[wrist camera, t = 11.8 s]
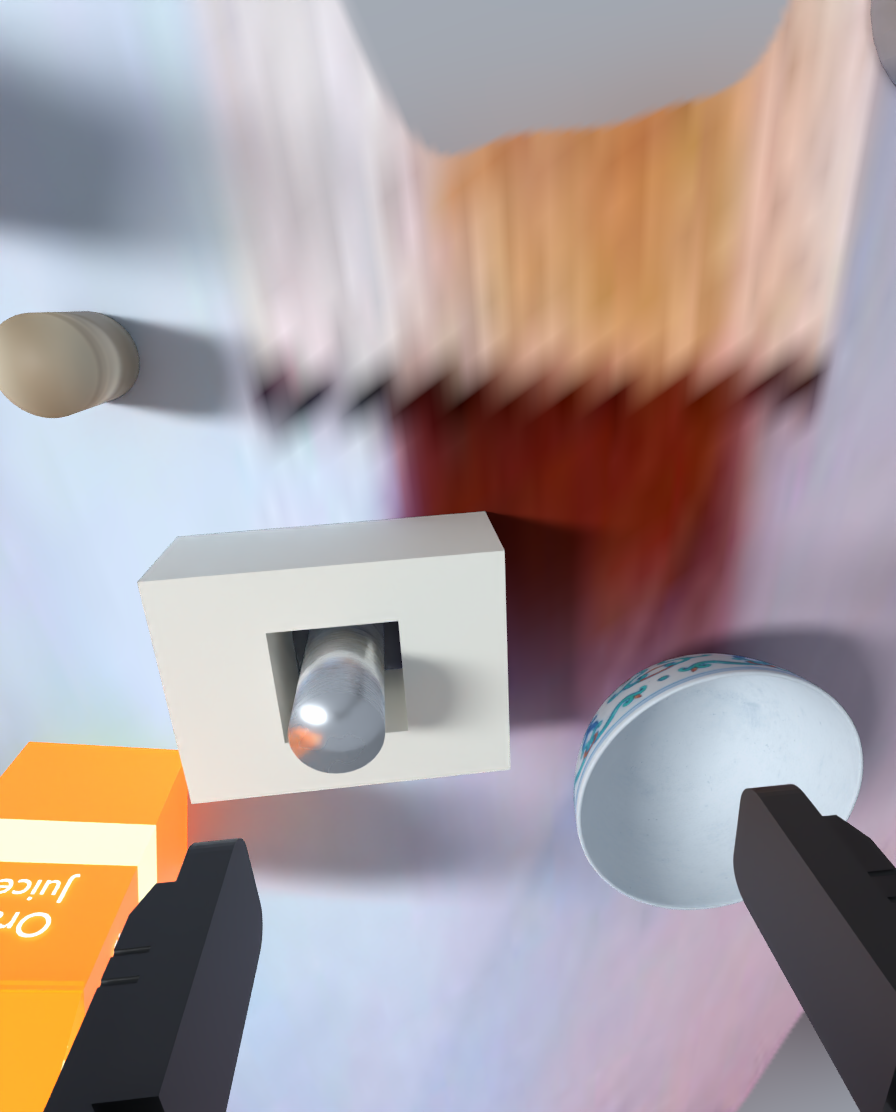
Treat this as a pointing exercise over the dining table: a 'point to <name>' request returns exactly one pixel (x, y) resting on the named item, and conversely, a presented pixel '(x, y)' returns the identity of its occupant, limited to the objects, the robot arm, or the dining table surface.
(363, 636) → the long pin
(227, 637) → the hole block
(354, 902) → the dining table surface
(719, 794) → the chinaware
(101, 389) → the short pin
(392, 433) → the dining table surface
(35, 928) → the orange juice
